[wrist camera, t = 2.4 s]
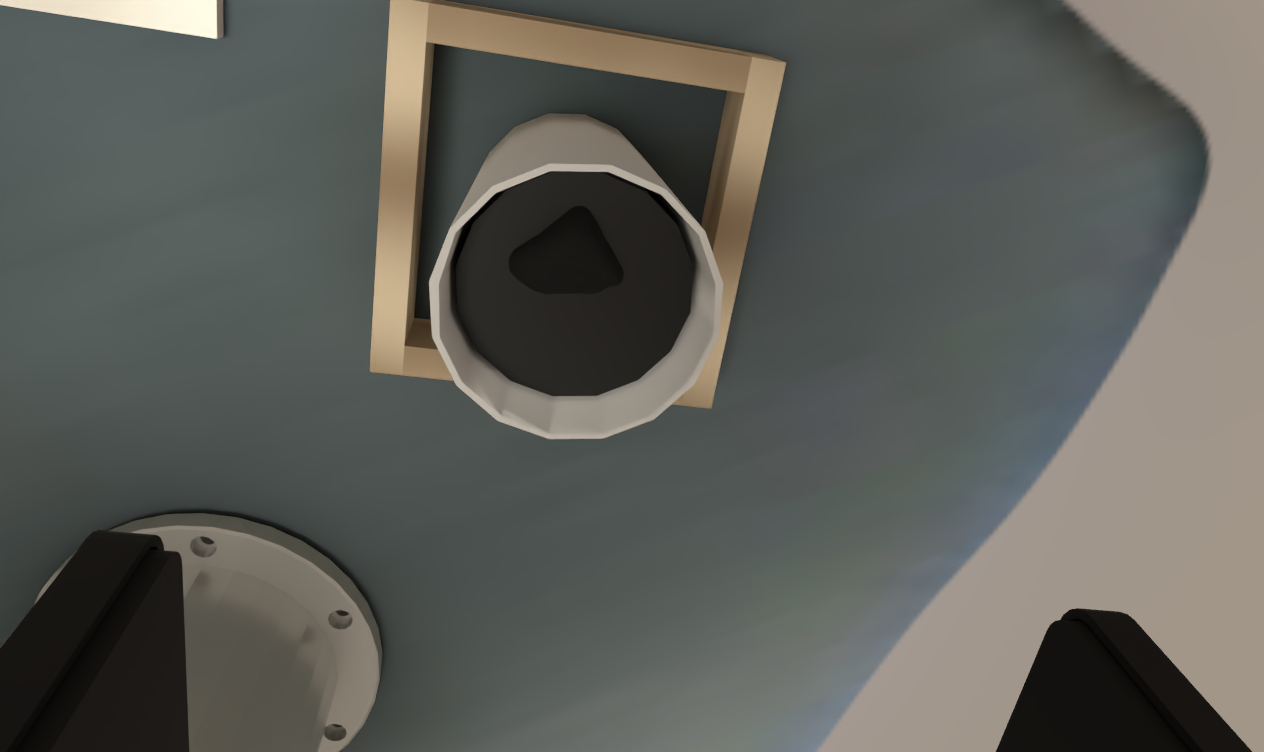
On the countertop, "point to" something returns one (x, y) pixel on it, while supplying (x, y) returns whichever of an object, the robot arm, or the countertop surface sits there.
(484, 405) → the drinking glass
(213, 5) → the coaster
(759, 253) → the countertop surface
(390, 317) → the wooden frame
